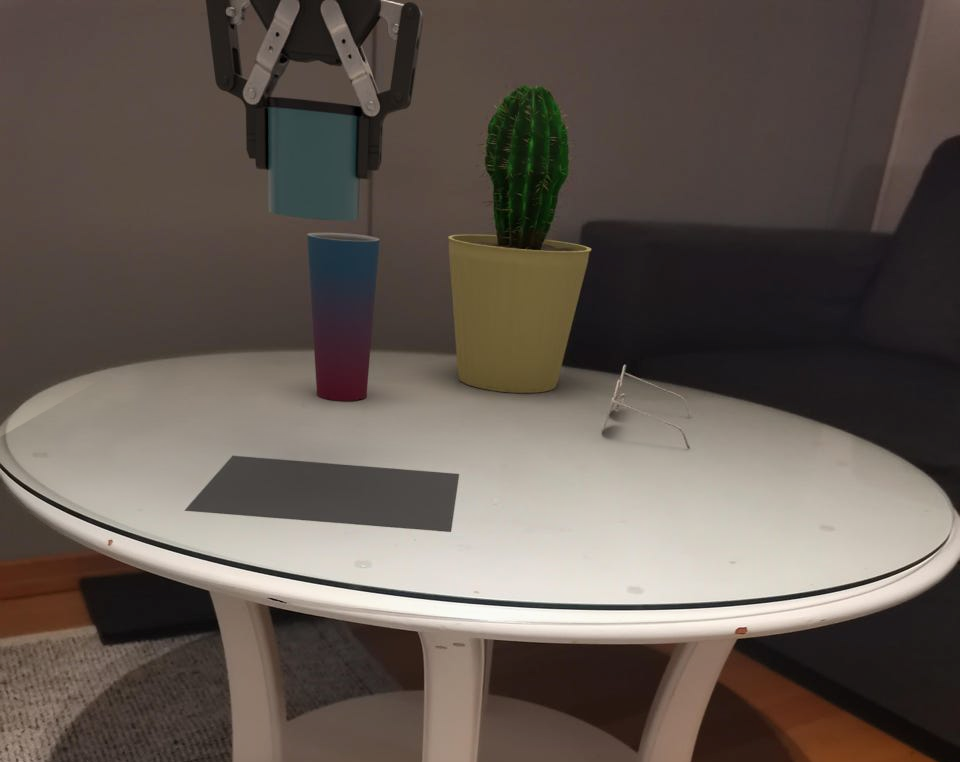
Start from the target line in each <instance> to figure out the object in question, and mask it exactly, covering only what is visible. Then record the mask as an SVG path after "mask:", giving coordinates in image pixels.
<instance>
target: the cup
mask: <svg viewBox="0 0 960 762" xmlns="http://www.w3.org/2000/svg"><path fill="white" fill-rule="evenodd" d="M306 236H307V237H306V238H307V239H306V240H307V254H308V255H307V256H308V267H309V268H308V270H309V285H310V302H311V303H310V305H311V321H312V335H313V337H312V338H313V351H314V368H315V383H316V385H315V386H316V387H315V388H316V395H317V396H318V397H320V398H321V399H325V400H330V401H336V402H354V401H360V400H359V399H361V400H364V399H365V397H366V398H367V397H368V384H369V383H368V382H369V372H370V370H369V369H370V360H371V359H370V358H371V348H372V347H371V346H372V337H373V336H372V335H373V334H372V333H373V325H374V311H375V300H376V299H375V298H376V287H377V276H378V275H377V274H378V264H379V263H378V262H379V253H380V251H379V249H380V238H378V237H375V236H370V235H364V234H356V233H355V234H354V233H344V232H309V233H307V235H306ZM363 398H364V399H363Z"/></svg>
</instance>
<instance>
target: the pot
mask: <svg viewBox="0 0 960 762" xmlns="http://www.w3.org/2000/svg"><path fill="white" fill-rule="evenodd" d="M267 107H268V170H267V171H268V172H267V175H268V184H267V185H268V212H269V213H270V214H273V215H278V216H283V217H290V218H298V219H299V218H300V219H307V220H318V221H319V220H320V221H337V222H338V221H339V222H352V221H358V220H359V218H360V190H361V189H360V188H361V186H360V185H361V179H358V177H357V163H358V129H359V117H362V116H363V110H362V107H361V105H355V104H347V103H338V102H331V101H321V100H313V99H312V100H311V99H302V98H292V97H280V96H271V97H267Z"/></svg>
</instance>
